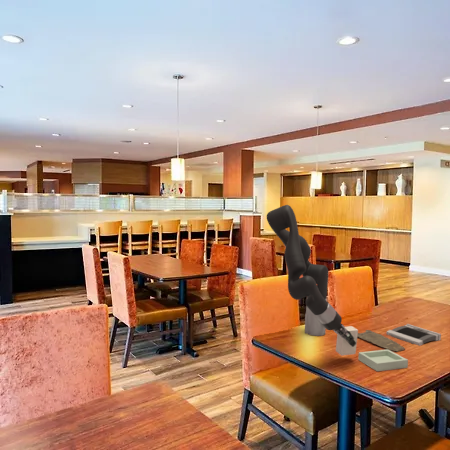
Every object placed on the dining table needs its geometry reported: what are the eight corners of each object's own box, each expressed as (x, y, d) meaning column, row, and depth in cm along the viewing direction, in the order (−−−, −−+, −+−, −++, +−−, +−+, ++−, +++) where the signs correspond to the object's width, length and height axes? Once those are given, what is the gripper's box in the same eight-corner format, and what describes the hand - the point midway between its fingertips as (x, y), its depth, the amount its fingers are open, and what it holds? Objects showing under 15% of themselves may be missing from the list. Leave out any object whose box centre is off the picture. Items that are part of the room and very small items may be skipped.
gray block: (335, 350, 160) (338, 327, 158) (349, 349, 162) (352, 326, 160) (341, 355, 156) (343, 331, 154) (355, 354, 158) (358, 330, 156)
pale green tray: (358, 359, 159) (358, 352, 159) (387, 356, 163) (387, 349, 163) (376, 371, 148) (377, 363, 148) (407, 367, 152) (407, 359, 152)
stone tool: (350, 336, 189) (392, 354, 167) (350, 330, 189) (392, 347, 166) (367, 333, 194) (410, 351, 171) (367, 327, 194) (411, 344, 171)
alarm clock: (441, 334, 184) (419, 336, 176) (440, 343, 184) (418, 347, 176) (408, 323, 199) (386, 325, 191) (407, 333, 199) (385, 335, 191)
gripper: (311, 315, 160) (334, 341, 165) (330, 329, 146) (355, 357, 152) (323, 302, 160) (346, 328, 166) (344, 315, 147) (368, 343, 152)
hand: (350, 342), depth 159 cm, fingers closed on gray block, 4 cm apart
